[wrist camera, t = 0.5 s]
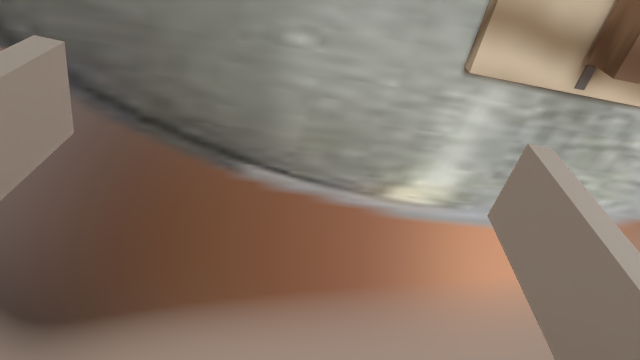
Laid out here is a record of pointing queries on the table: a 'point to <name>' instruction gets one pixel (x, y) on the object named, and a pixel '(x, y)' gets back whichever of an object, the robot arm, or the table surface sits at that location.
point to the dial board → (548, 47)
